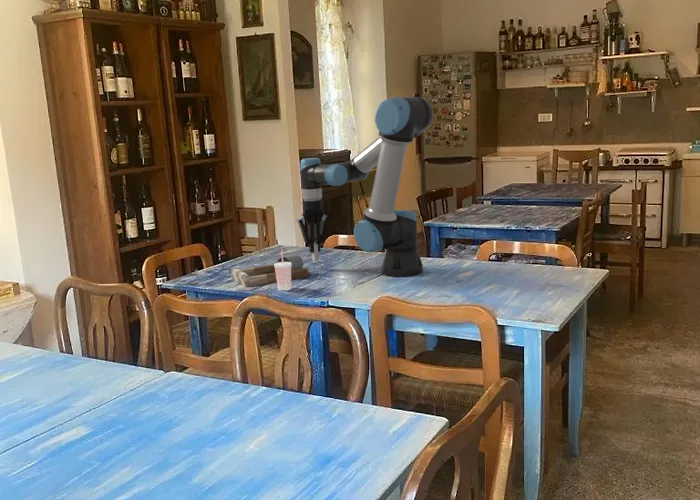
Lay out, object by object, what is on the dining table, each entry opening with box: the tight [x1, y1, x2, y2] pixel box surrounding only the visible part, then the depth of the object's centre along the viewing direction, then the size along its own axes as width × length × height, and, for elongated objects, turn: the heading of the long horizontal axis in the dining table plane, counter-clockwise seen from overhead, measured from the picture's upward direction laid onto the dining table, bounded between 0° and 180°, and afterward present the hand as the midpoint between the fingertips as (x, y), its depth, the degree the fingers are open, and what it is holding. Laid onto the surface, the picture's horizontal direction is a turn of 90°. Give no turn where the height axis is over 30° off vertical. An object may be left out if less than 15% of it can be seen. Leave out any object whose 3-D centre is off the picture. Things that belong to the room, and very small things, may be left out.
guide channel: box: [230, 263, 309, 288], centre depth 266 cm, size 16×24×4 cm, turn 116°
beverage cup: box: [274, 249, 292, 291], centre depth 247 cm, size 6×6×14 cm
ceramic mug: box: [275, 254, 304, 273], centre depth 269 cm, size 11×8×8 cm
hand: (315, 260), depth 274 cm, fingers closed
